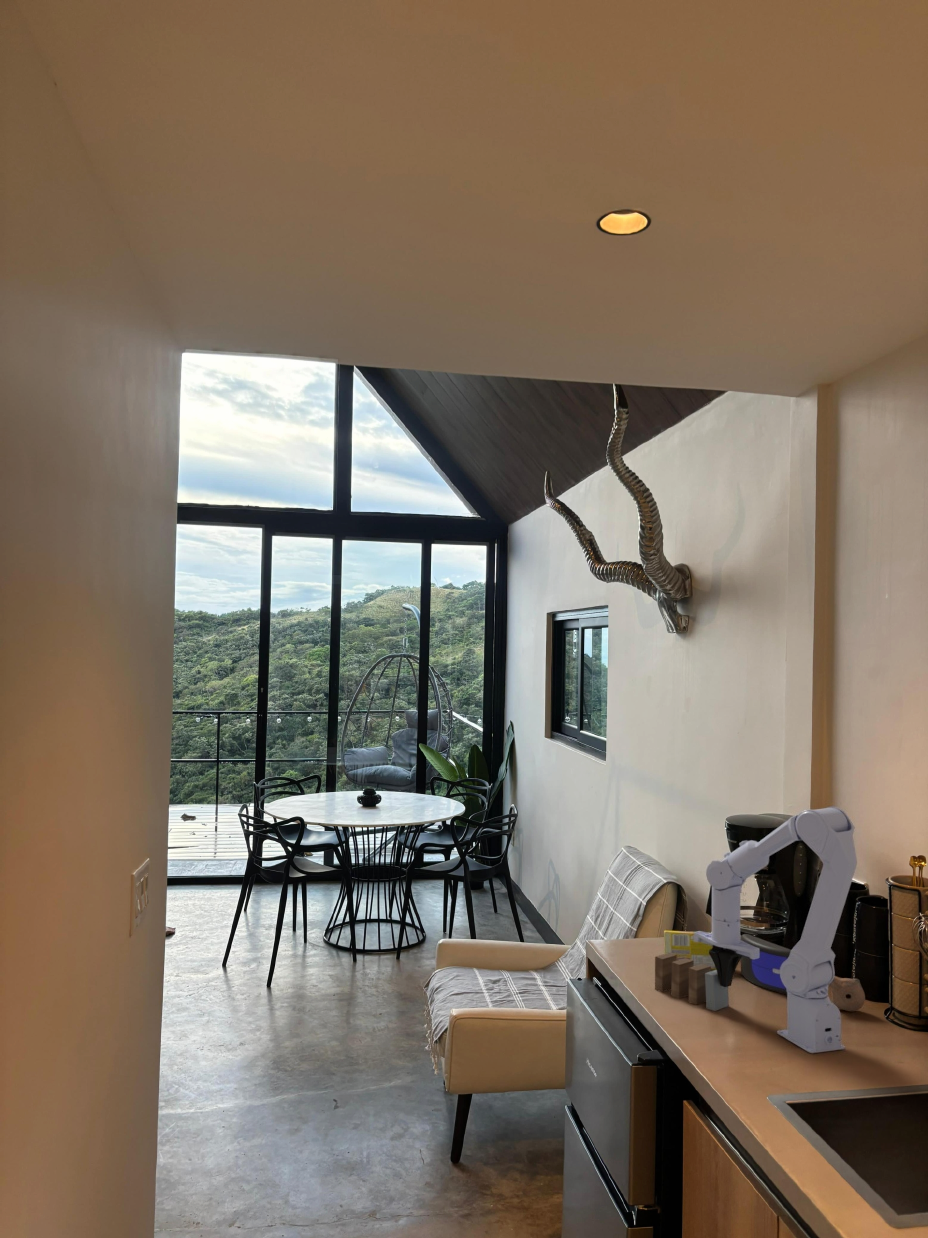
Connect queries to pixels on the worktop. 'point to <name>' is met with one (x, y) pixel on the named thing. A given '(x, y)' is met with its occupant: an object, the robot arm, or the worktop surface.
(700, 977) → the domino
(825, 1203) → the worktop surface
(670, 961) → the domino
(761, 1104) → the worktop surface
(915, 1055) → the worktop surface
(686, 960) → the domino
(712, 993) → the slate domino
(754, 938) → the dark grey curved shell
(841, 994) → the oil lamp
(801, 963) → the robot arm
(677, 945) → the candy box
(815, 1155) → the worktop surface
